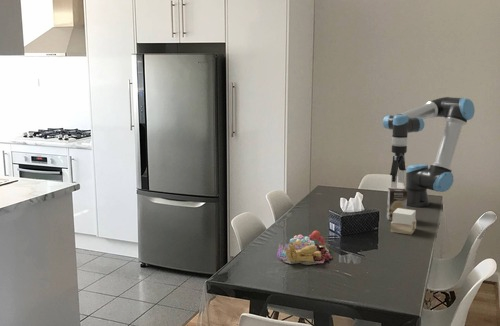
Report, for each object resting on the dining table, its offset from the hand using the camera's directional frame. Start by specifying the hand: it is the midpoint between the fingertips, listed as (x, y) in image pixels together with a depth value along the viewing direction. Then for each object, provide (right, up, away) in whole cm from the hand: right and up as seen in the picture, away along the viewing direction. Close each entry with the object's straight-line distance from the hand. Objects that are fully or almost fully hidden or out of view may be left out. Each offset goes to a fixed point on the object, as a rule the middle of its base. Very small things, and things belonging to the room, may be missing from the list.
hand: (397, 185), depth 277 cm
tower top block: (-1, -17, -15) cm, 23 cm away
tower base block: (-1, -22, -15) cm, 26 cm away
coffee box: (0, -18, +4) cm, 19 cm away
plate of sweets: (-54, -29, -46) cm, 76 cm away
